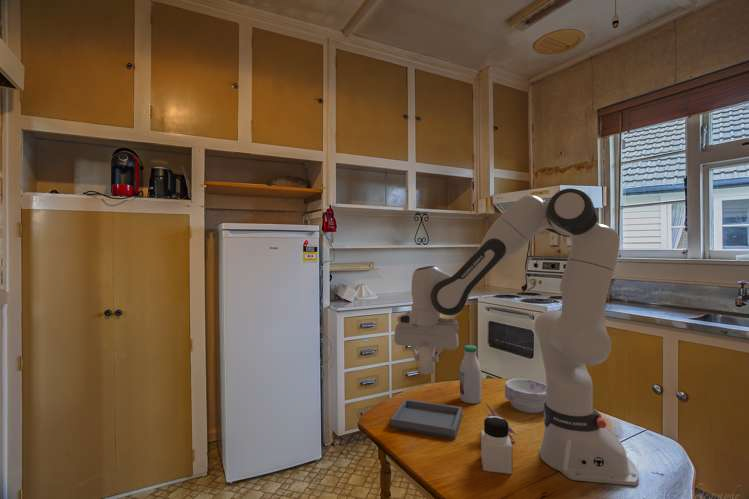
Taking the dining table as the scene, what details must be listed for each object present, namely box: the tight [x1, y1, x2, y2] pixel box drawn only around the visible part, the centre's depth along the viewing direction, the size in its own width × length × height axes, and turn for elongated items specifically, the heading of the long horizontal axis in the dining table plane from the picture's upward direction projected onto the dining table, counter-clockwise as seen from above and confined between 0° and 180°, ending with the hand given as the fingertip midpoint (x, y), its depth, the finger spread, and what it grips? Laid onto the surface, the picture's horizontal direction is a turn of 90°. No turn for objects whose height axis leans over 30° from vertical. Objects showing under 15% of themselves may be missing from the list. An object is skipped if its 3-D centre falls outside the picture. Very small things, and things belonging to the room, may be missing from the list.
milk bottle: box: [459, 344, 482, 405], centre depth 139 cm, size 8×8×20 cm
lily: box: [484, 402, 517, 443], centre depth 111 cm, size 12×12×10 cm
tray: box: [390, 398, 463, 441], centre depth 122 cm, size 20×16×3 cm
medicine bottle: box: [480, 415, 513, 475], centre depth 98 cm, size 7×7×12 cm
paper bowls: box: [504, 378, 546, 414], centre depth 132 cm, size 15×15×8 cm
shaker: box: [418, 342, 435, 375], centre depth 119 cm, size 5×5×10 cm
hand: (426, 360), depth 119 cm, fingers closed on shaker, 5 cm apart
